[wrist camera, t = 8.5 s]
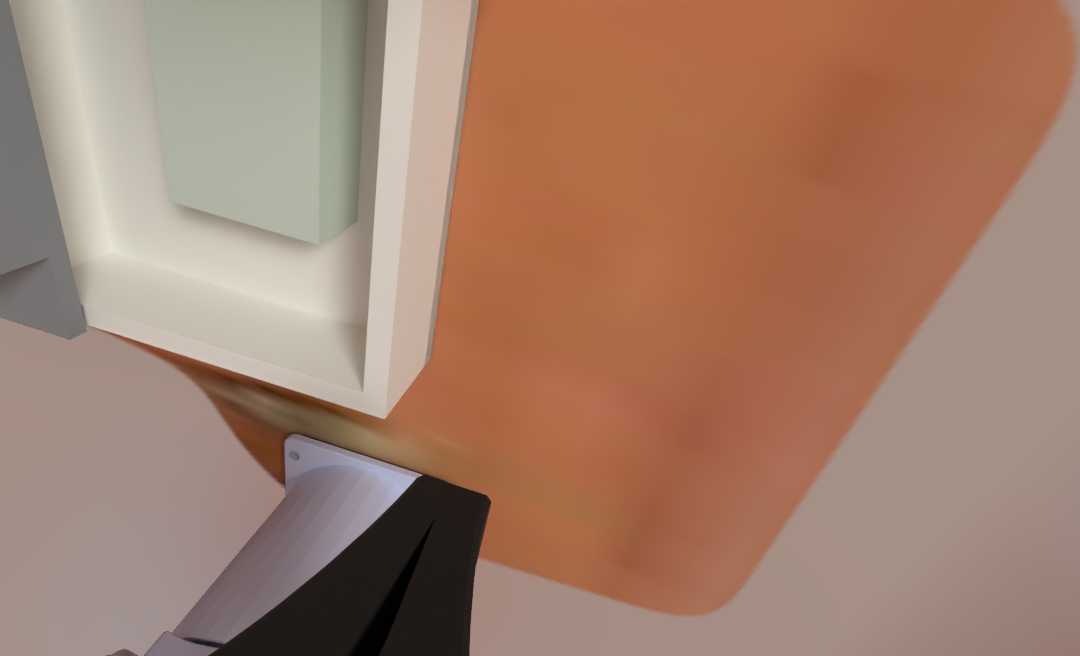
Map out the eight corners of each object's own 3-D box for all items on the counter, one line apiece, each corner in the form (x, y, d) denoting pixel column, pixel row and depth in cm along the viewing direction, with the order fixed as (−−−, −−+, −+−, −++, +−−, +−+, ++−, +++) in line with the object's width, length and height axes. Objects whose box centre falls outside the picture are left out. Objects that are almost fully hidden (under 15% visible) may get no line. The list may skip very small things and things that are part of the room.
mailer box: (430, 357, 22) (384, 419, 18) (110, 259, 23) (9, 300, 19) (516, -282, 13) (458, -398, 9) (-17, -392, 14) (-246, -532, 10)
